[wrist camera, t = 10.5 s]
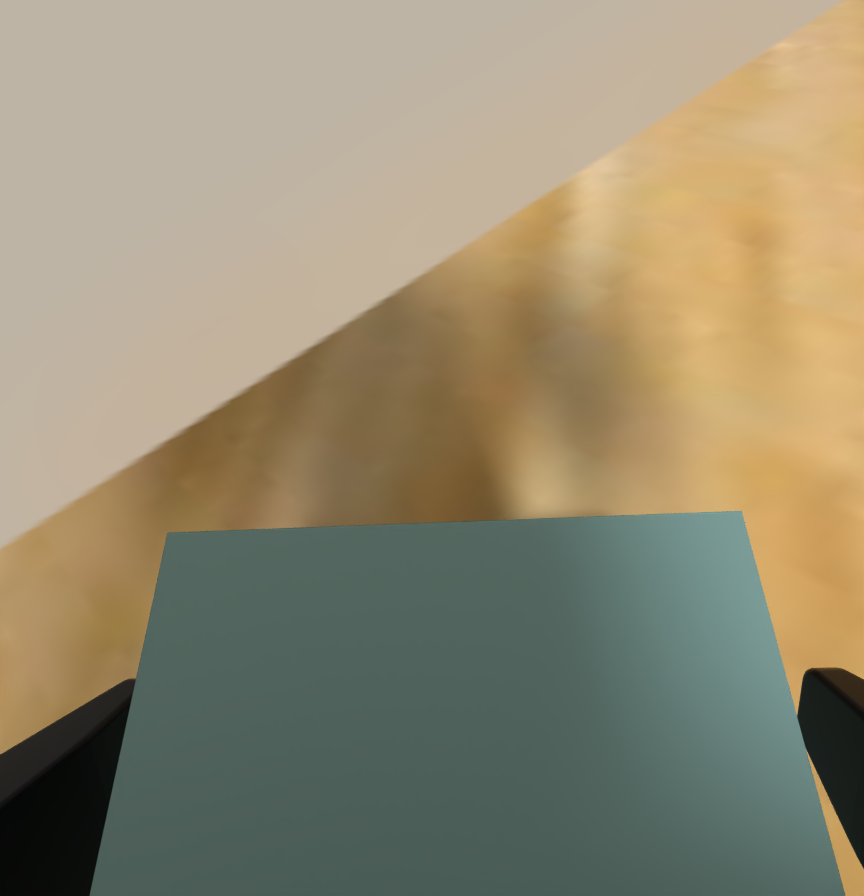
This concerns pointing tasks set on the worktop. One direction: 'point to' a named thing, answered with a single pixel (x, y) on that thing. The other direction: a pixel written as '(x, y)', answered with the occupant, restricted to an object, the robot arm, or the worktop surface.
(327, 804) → the teal block
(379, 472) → the worktop surface
